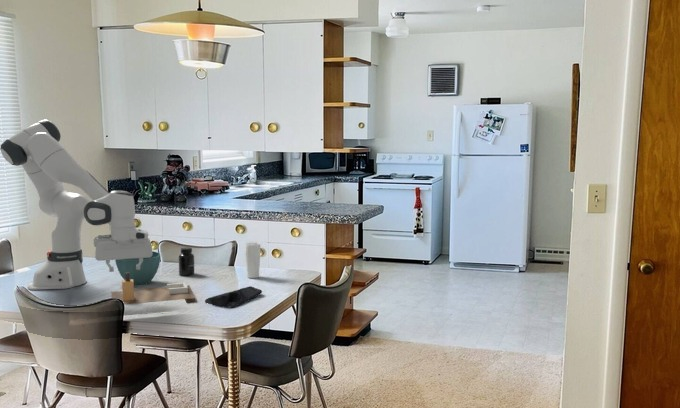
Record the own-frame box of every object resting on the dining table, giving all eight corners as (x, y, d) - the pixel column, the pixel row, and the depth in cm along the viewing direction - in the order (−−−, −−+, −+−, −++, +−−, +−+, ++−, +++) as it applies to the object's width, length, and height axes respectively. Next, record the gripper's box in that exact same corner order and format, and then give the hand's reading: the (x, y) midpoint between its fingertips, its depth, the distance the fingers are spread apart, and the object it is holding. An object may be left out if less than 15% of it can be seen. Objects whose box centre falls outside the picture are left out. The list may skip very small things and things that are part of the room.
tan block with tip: (122, 300, 232) (121, 274, 231) (122, 298, 236) (121, 272, 235) (134, 299, 234) (133, 273, 232) (133, 297, 237) (132, 271, 236)
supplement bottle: (192, 276, 277) (191, 249, 275) (177, 276, 277) (176, 249, 275) (196, 272, 284) (195, 246, 282) (181, 272, 284) (180, 246, 282)
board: (111, 309, 226) (111, 305, 226) (111, 295, 245) (111, 291, 245) (195, 301, 237) (195, 297, 237) (189, 288, 255) (189, 285, 255)
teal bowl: (147, 290, 253) (146, 260, 252) (107, 287, 257) (106, 258, 255) (168, 279, 271) (167, 251, 269) (130, 277, 274) (129, 250, 273)
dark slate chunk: (268, 296, 246) (268, 285, 245) (230, 310, 227) (230, 297, 227) (239, 291, 254) (239, 280, 253) (200, 304, 236) (199, 291, 235)
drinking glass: (262, 275, 279) (261, 242, 277) (258, 279, 272) (258, 245, 270) (247, 275, 279) (247, 242, 277) (243, 278, 273) (243, 245, 271)
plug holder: (169, 294, 242) (168, 289, 241) (167, 288, 250) (166, 284, 249) (187, 292, 244) (187, 287, 244) (185, 287, 252) (185, 282, 252)
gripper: (93, 237, 225) (94, 274, 226) (152, 233, 231) (153, 270, 233) (93, 234, 231) (95, 270, 232) (151, 231, 237) (152, 266, 239)
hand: (125, 270), depth 233 cm, fingers open, 8 cm apart
